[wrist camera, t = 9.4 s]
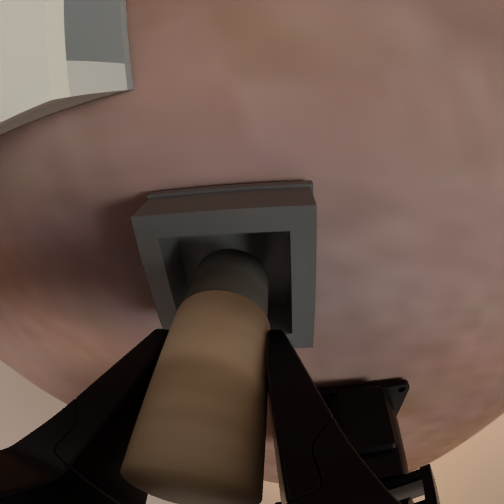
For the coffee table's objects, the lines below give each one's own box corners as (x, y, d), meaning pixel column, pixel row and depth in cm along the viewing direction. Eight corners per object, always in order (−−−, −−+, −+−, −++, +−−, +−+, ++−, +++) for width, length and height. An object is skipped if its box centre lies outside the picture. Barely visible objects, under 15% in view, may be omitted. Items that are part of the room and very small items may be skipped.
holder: (310, 313, 14) (315, 348, 12) (180, 315, 14) (167, 349, 13) (311, 180, 11) (319, 201, 9) (150, 192, 12) (127, 214, 10)
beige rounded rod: (273, 310, 12) (265, 513, 5) (200, 312, 12) (148, 499, 6) (269, 244, 10) (256, 475, 4) (186, 247, 11) (96, 452, 4)
